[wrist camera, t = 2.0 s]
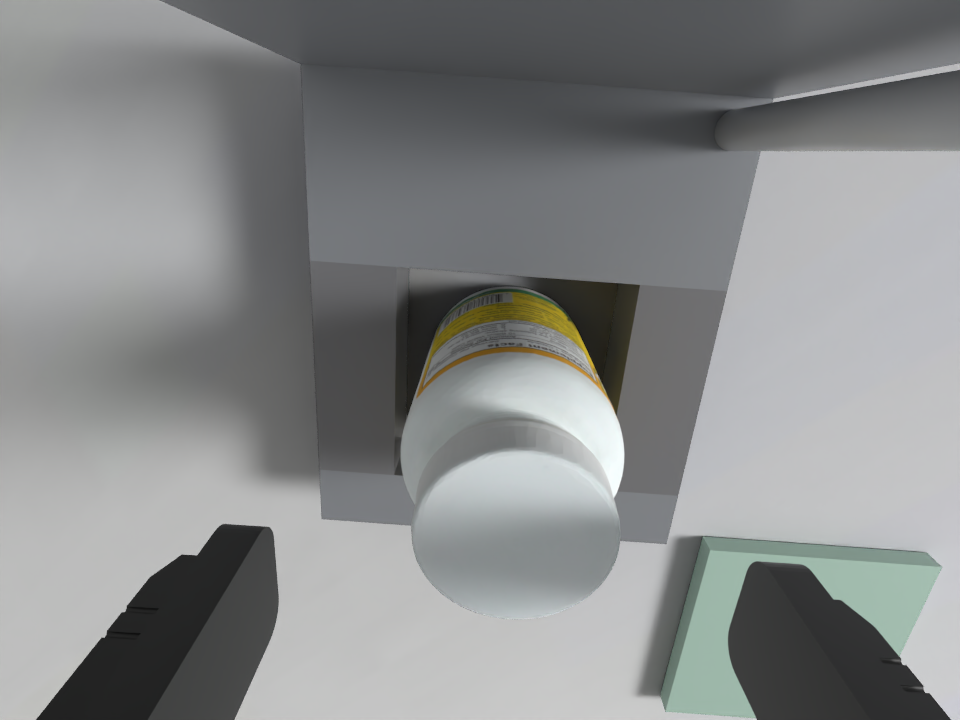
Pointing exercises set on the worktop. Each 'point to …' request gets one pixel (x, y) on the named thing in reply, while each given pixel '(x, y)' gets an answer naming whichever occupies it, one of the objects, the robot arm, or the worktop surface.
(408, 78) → the case
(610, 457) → the supplement bottle
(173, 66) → the worktop surface
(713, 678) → the pad
